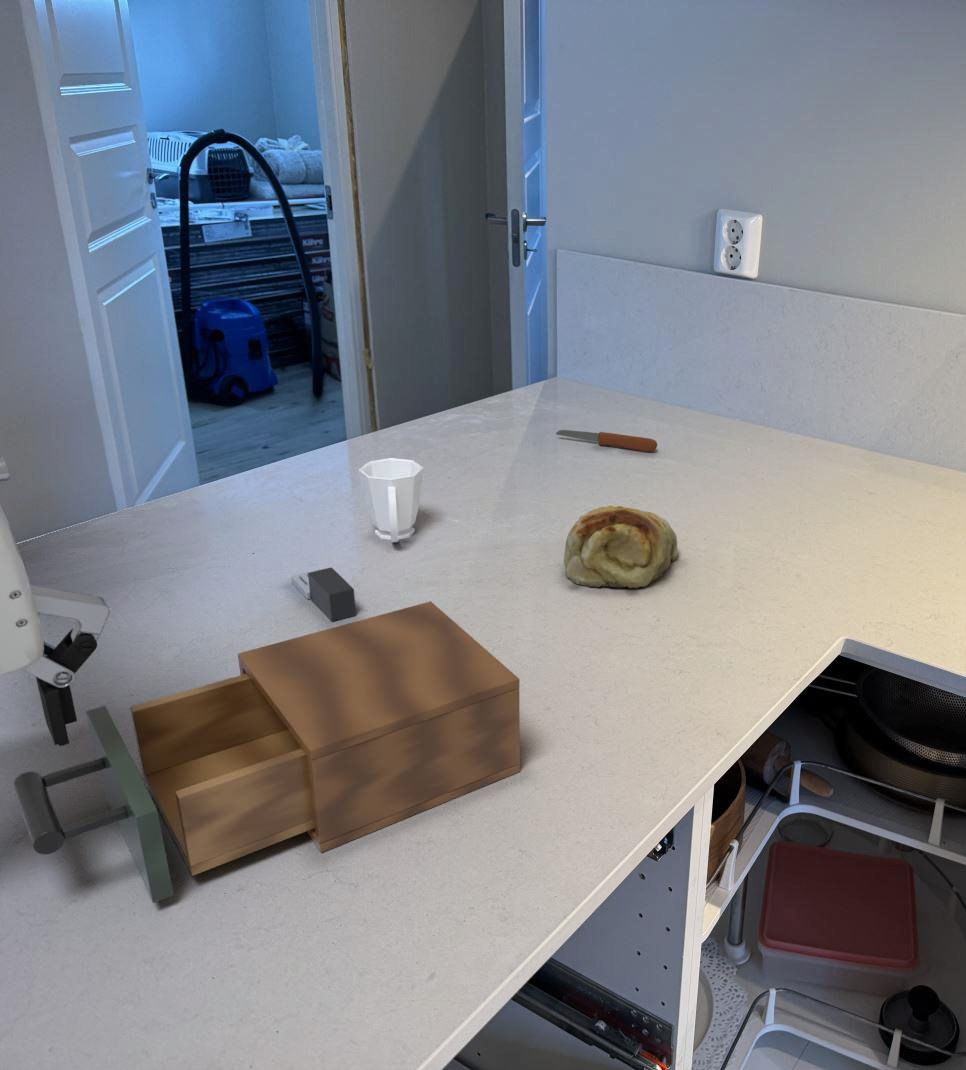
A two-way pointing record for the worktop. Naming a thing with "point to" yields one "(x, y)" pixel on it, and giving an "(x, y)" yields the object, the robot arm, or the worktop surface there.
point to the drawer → (187, 781)
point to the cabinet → (390, 716)
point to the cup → (392, 495)
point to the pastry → (619, 548)
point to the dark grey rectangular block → (327, 592)
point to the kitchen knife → (613, 440)
